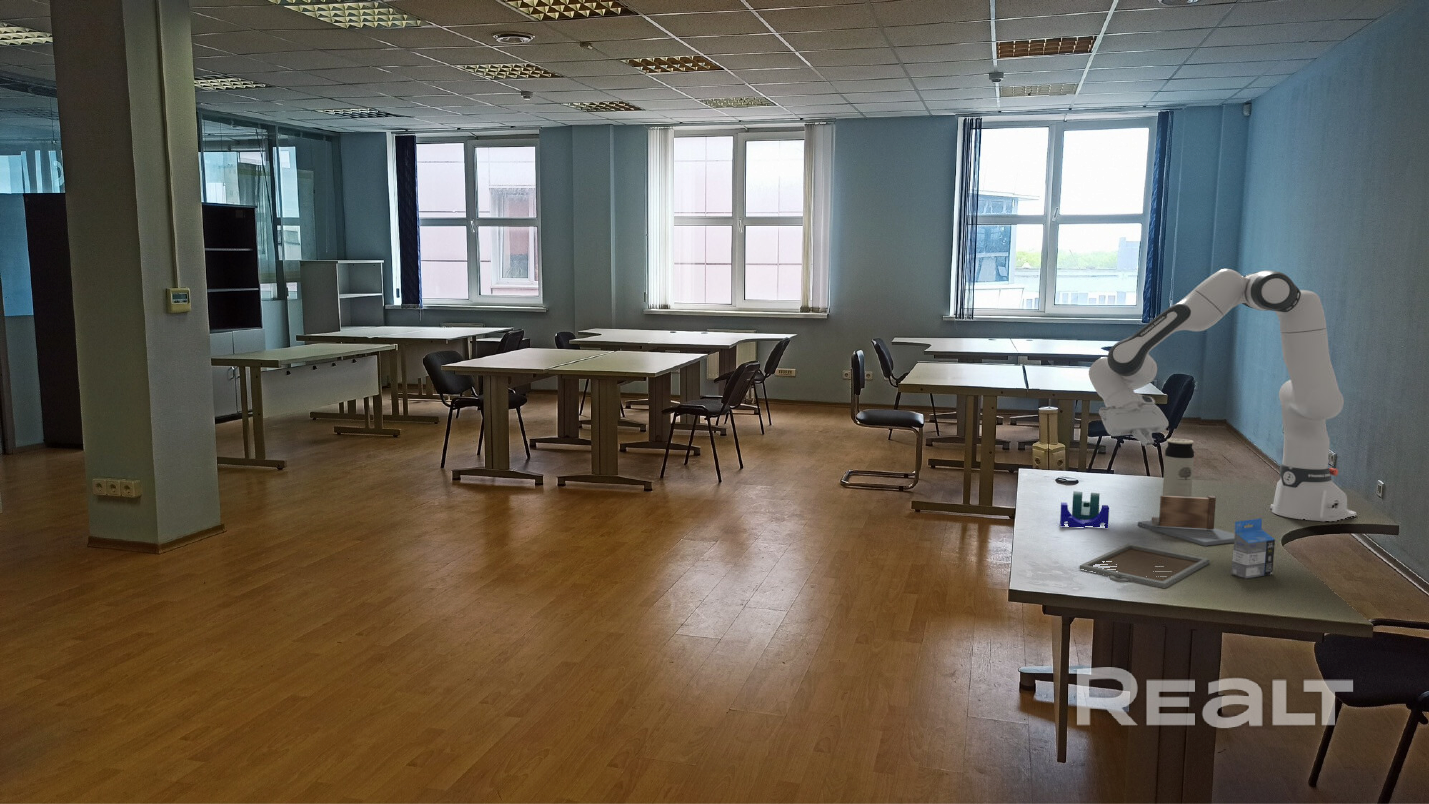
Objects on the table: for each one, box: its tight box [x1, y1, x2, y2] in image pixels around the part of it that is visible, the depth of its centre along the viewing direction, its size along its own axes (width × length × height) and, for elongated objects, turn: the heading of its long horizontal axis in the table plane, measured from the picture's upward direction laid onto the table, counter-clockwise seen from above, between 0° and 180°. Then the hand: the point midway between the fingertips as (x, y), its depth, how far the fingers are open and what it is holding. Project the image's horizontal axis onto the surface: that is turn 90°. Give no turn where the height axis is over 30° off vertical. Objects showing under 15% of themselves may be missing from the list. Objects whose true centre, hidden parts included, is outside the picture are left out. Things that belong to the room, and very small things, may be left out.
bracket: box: [1071, 490, 1101, 520], centre depth 276 cm, size 18×7×8 cm, turn 157°
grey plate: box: [1137, 519, 1235, 547], centre depth 257 cm, size 14×22×1 cm, turn 21°
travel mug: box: [1162, 438, 1195, 497], centre depth 297 cm, size 8×8×18 cm
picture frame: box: [1079, 543, 1210, 589], centre depth 226 cm, size 19×2×30 cm
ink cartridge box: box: [1230, 518, 1276, 580], centre depth 220 cm, size 9×4×12 cm, turn 114°
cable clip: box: [1059, 501, 1110, 529], centre depth 263 cm, size 12×4×6 cm, turn 74°
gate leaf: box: [1150, 494, 1217, 530], centre depth 257 cm, size 15×2×8 cm, turn 76°
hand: (1149, 444), depth 276 cm, fingers closed
